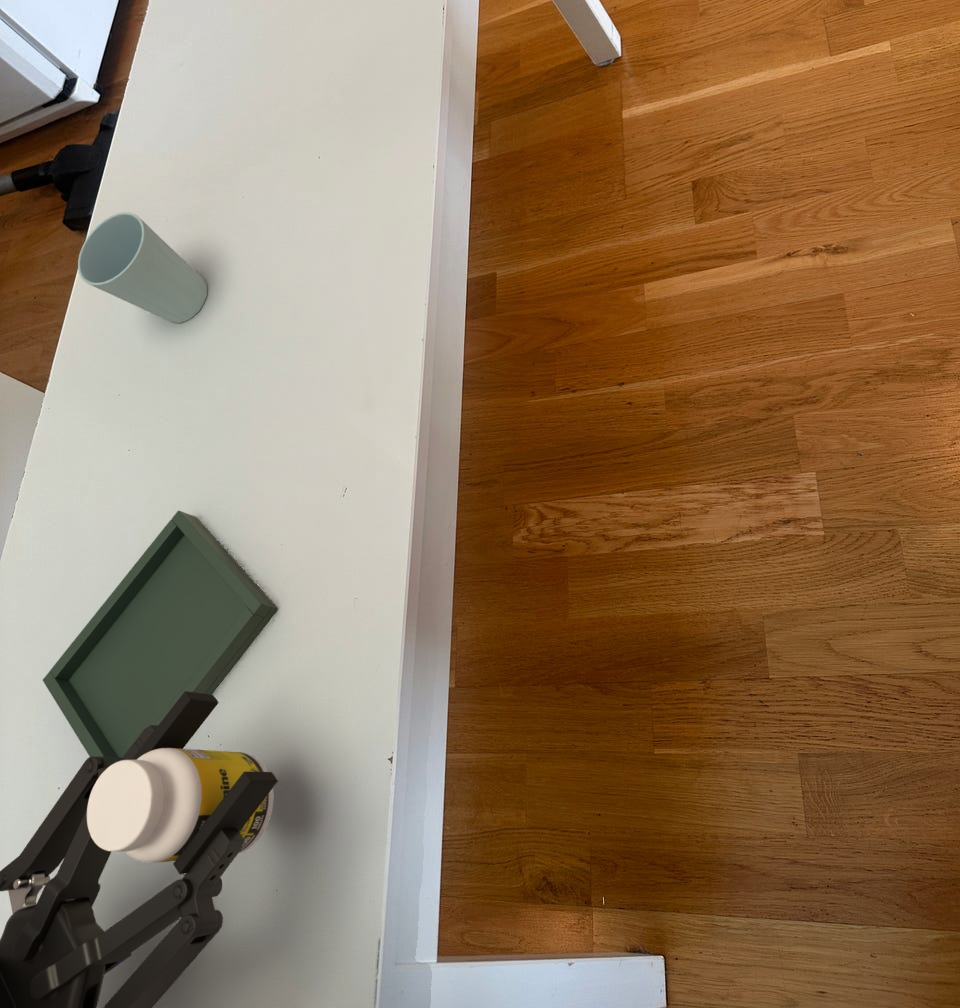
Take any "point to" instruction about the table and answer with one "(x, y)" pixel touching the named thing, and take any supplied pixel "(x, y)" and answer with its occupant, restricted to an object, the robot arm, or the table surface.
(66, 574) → the table surface
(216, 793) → the pill bottle
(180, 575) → the tray
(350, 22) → the table surface
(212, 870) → the robot arm
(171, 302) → the cup
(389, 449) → the table surface
